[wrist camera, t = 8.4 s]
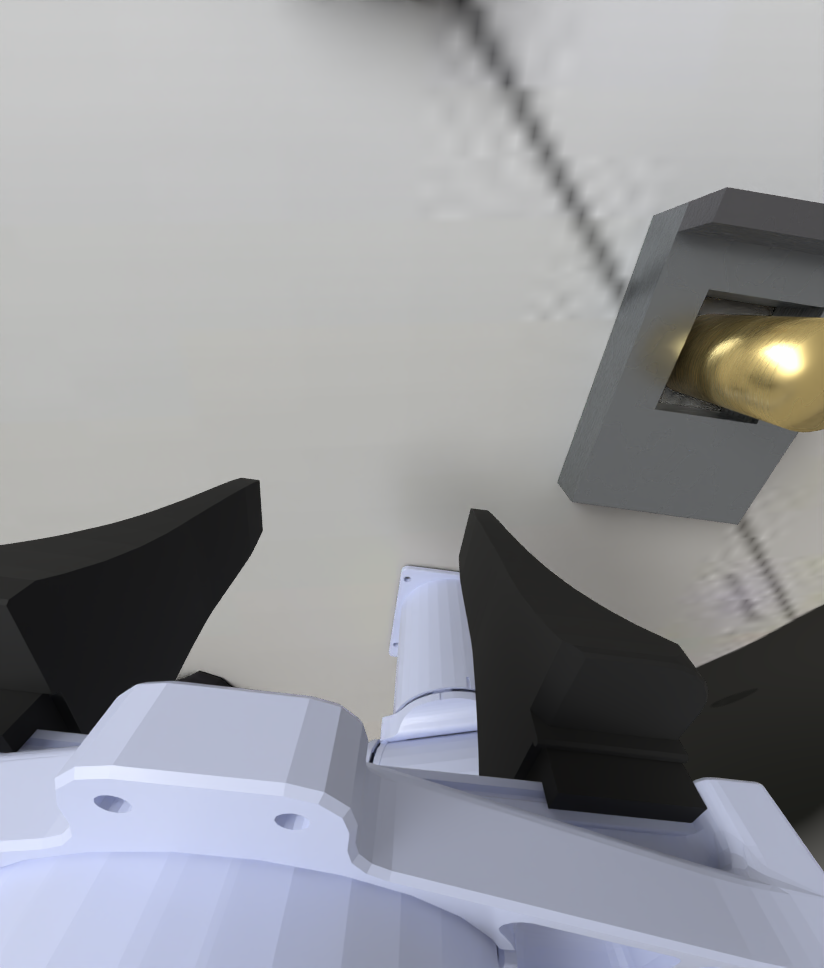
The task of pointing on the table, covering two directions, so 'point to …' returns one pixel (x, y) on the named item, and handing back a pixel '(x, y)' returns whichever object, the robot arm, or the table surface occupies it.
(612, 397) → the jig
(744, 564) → the table surface
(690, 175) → the table surface
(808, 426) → the brass cylinder
